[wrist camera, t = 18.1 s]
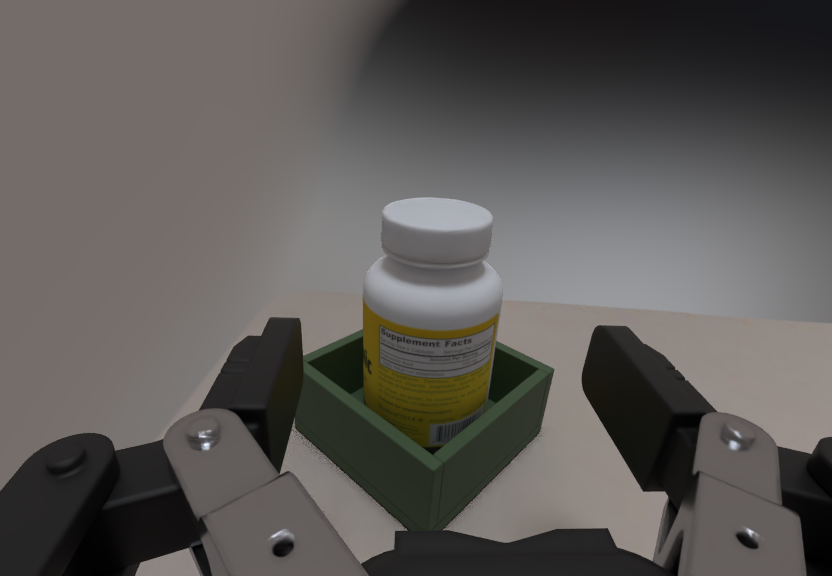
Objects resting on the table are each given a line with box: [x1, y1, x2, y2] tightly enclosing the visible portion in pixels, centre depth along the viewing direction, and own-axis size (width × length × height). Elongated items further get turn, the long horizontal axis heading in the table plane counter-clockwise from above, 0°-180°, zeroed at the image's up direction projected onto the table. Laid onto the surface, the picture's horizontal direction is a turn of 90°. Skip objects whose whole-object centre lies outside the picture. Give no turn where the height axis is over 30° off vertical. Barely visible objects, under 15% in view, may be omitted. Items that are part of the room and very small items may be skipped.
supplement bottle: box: [363, 198, 503, 455], centre depth 18 cm, size 5×5×10 cm
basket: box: [295, 329, 554, 531], centre depth 20 cm, size 8×8×4 cm
